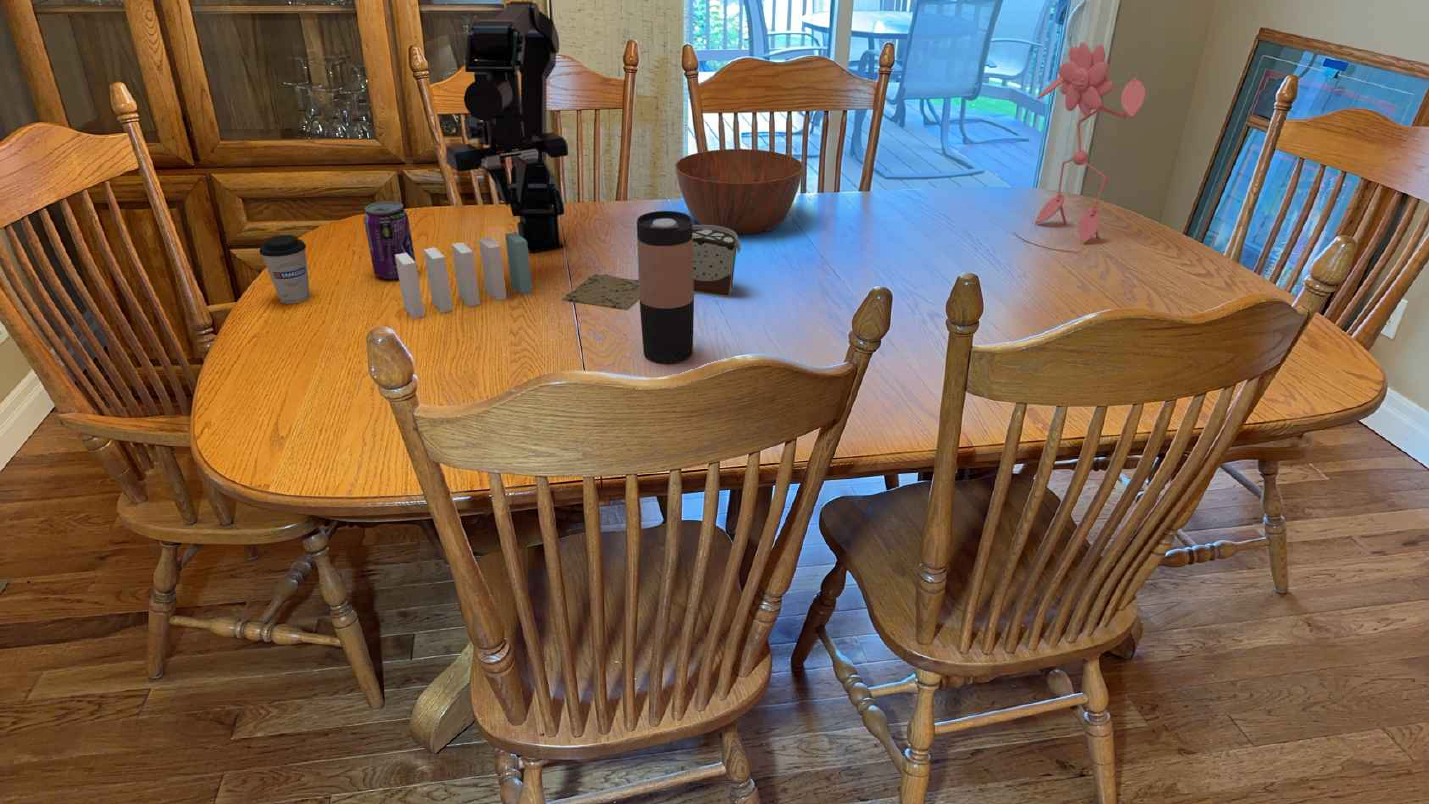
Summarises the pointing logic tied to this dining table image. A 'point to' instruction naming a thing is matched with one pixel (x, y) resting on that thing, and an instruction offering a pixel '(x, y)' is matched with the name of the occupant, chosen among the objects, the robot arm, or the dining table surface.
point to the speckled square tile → (606, 292)
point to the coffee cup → (287, 267)
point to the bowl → (739, 187)
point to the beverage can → (387, 236)
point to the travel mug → (666, 285)
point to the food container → (714, 259)
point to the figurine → (1085, 88)
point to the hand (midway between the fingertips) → (513, 203)
